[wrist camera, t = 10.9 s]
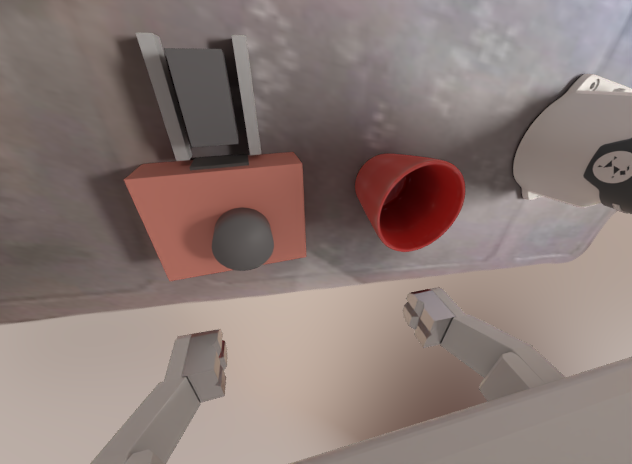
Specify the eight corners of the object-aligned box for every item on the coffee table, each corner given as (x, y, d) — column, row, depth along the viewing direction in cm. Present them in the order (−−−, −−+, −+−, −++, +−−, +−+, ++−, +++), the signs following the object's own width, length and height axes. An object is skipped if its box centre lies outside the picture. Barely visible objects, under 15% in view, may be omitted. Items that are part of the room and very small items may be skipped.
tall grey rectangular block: (224, 55, 23) (221, 48, 19) (238, 134, 26) (238, 143, 22) (178, 54, 22) (164, 48, 18) (199, 136, 25) (191, 147, 21)
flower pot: (339, 217, 35) (368, 257, 27) (350, 139, 30) (391, 159, 22) (401, 214, 38) (444, 249, 30) (423, 141, 33) (482, 161, 25)
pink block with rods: (286, 39, 23) (305, 22, 17) (298, 236, 35) (312, 272, 28) (91, 35, 20) (18, 11, 13) (178, 255, 32) (162, 300, 25)
